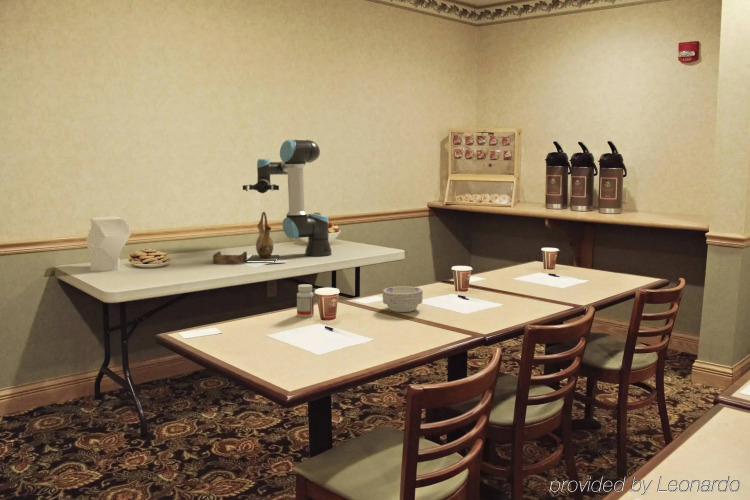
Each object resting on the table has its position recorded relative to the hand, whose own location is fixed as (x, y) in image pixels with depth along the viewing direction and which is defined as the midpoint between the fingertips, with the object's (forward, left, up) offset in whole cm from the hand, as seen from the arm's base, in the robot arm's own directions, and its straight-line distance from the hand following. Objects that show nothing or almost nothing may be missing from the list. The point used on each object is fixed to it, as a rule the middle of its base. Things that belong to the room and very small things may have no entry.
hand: (259, 188), depth 377 cm
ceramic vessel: (-4, +13, -37) cm, 39 cm away
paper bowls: (-75, +125, -38) cm, 150 cm away
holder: (+13, +19, -38) cm, 45 cm away
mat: (-3, +12, -38) cm, 40 cm away
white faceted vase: (+70, +39, -38) cm, 89 cm away
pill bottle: (-39, +135, -38) cm, 145 cm away
